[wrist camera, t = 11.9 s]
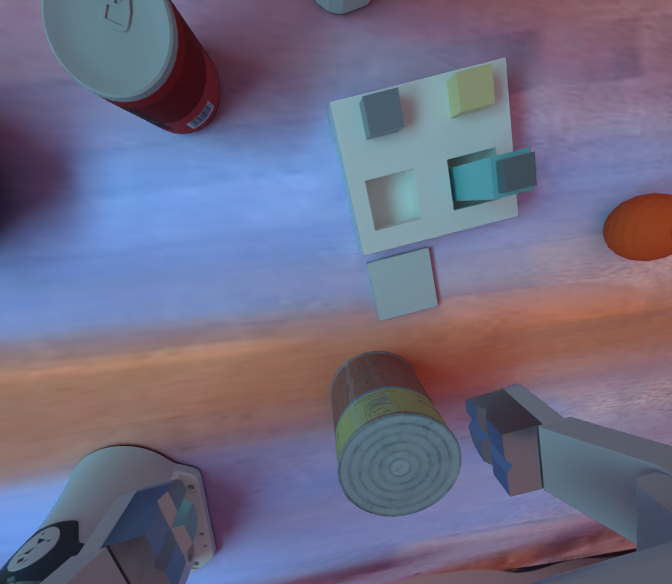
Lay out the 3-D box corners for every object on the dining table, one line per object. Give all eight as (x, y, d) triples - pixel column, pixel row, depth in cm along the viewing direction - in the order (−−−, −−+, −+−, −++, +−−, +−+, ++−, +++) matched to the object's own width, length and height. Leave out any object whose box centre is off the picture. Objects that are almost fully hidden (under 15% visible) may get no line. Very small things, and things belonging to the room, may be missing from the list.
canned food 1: (224, 48, 29) (173, -44, 18) (221, 141, 31) (174, 108, 20) (136, 32, 28) (30, -73, 17) (139, 129, 30) (46, 88, 19)
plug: (475, 193, 33) (541, 189, 24) (447, 201, 33) (501, 199, 24) (472, 162, 33) (539, 144, 23) (442, 170, 33) (497, 155, 23)
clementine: (663, 217, 36) (744, 219, 29) (624, 269, 38) (693, 283, 31) (613, 183, 35) (687, 177, 28) (574, 238, 36) (636, 246, 29)
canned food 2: (401, 436, 42) (435, 524, 30) (320, 420, 40) (323, 507, 29) (430, 362, 39) (480, 427, 28) (344, 342, 38) (358, 402, 26)
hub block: (498, 215, 35) (531, 216, 29) (359, 250, 35) (367, 258, 29) (484, 73, 31) (520, 46, 26) (327, 113, 31) (331, 94, 26)
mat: (435, 304, 37) (437, 306, 36) (378, 319, 37) (379, 320, 36) (426, 247, 35) (428, 247, 35) (366, 262, 35) (367, 263, 35)
